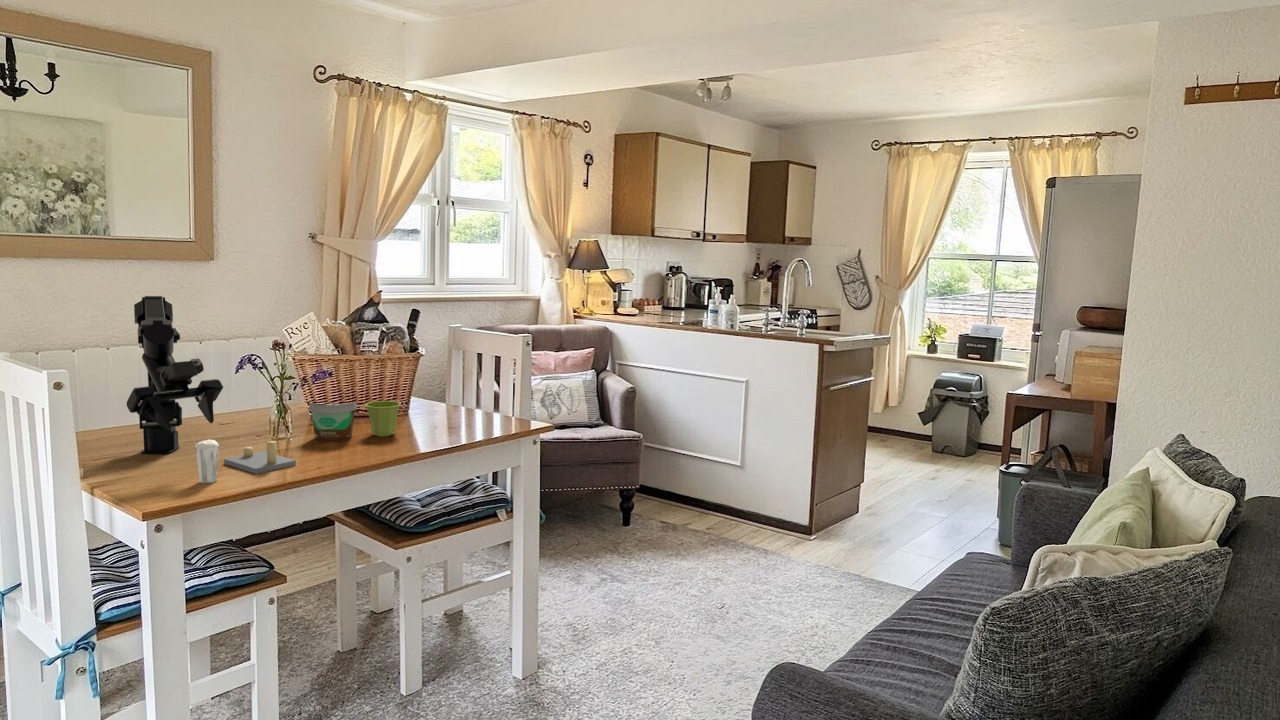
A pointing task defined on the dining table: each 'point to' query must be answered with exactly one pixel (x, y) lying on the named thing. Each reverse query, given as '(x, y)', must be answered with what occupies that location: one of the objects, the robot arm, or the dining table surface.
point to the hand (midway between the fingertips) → (191, 425)
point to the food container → (333, 421)
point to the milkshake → (207, 460)
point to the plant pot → (383, 417)
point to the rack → (260, 460)
